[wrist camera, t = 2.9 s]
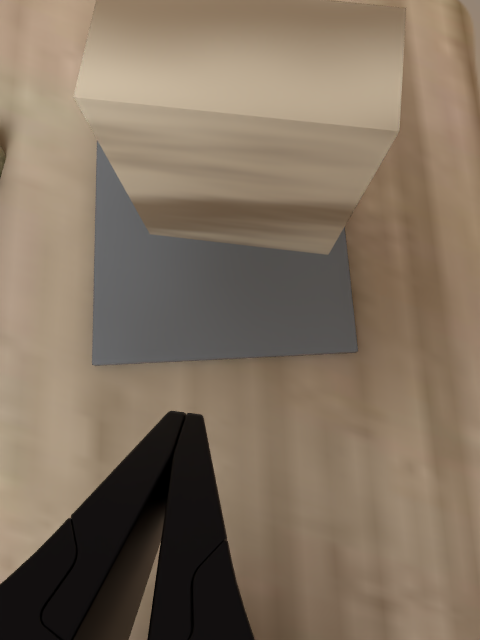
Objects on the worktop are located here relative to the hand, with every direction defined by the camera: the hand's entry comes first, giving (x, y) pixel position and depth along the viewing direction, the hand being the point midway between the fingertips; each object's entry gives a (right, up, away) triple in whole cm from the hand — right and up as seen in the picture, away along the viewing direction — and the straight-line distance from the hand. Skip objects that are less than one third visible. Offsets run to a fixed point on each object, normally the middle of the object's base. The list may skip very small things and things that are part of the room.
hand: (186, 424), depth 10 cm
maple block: (+2, +9, +13) cm, 16 cm away
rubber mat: (0, +11, +14) cm, 18 cm away
